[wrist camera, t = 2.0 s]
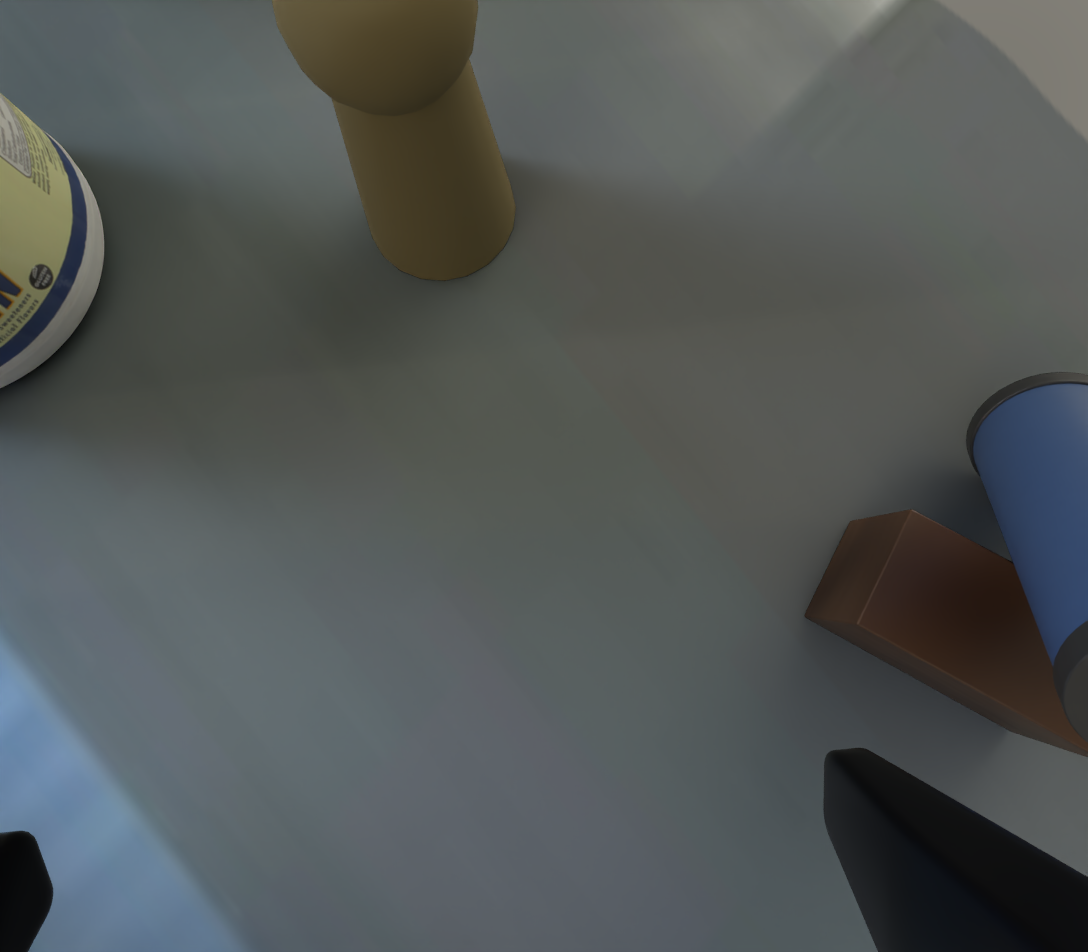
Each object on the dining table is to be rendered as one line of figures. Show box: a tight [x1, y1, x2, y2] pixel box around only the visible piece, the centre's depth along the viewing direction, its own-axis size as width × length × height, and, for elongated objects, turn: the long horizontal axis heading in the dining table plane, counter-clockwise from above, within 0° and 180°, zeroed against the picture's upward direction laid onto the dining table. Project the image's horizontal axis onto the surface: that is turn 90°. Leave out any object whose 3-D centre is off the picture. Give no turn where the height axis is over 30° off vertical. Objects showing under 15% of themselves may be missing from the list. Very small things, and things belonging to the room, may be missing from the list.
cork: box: [272, 0, 516, 281], centre depth 20 cm, size 6×6×11 cm
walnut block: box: [804, 509, 1088, 757], centre depth 20 cm, size 4×8×4 cm, turn 61°
